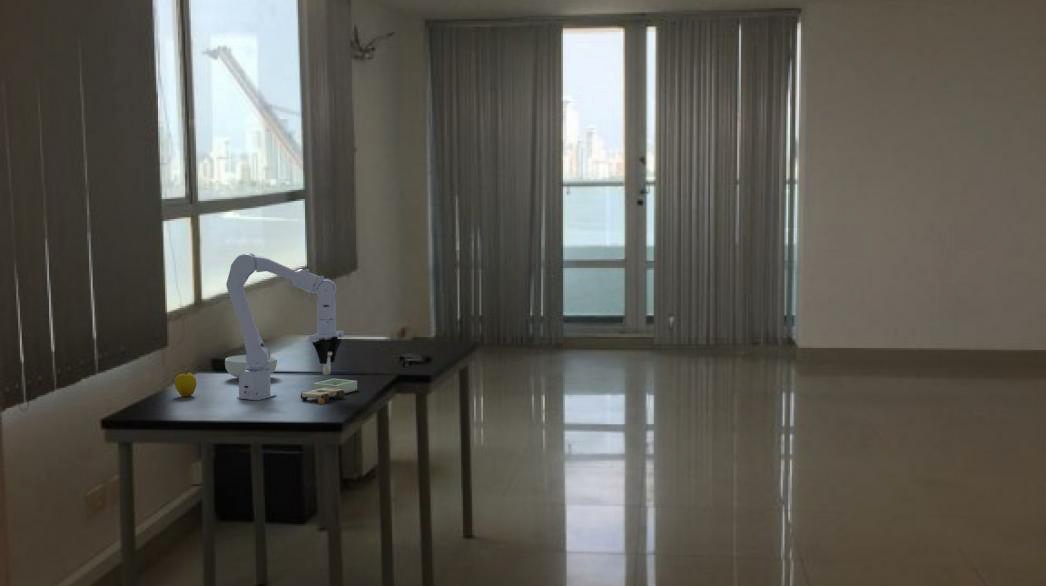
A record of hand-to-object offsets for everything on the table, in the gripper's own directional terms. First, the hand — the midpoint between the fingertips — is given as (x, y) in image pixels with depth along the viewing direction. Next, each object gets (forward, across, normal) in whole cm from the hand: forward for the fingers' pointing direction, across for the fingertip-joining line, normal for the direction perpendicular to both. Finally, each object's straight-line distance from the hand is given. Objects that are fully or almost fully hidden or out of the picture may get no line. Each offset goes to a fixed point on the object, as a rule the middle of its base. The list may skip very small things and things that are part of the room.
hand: (327, 362), depth 362 cm
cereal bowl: (+11, +14, +42) cm, 46 cm away
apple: (+11, -22, +37) cm, 44 cm away
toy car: (+10, -4, -2) cm, 11 cm away
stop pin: (+3, 0, 0) cm, 4 cm away
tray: (+10, +8, +4) cm, 14 cm away
